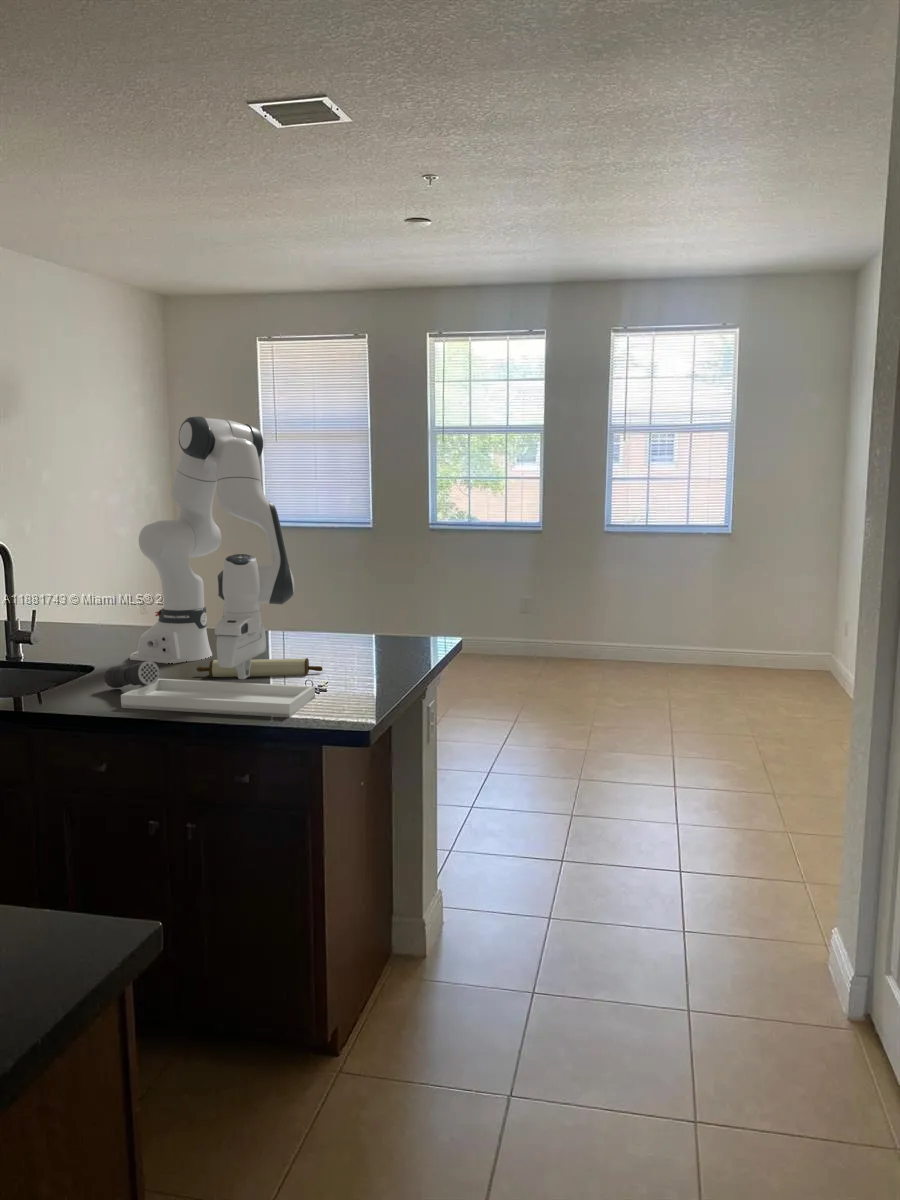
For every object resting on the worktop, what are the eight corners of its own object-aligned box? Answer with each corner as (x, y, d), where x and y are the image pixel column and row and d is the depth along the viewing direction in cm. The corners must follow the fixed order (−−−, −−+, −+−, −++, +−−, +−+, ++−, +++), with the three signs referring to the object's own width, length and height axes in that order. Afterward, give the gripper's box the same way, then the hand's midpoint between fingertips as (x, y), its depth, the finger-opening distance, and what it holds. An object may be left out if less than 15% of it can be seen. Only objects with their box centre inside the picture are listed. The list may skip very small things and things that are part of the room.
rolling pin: (194, 681, 222) (193, 662, 222) (199, 676, 228) (198, 657, 227) (321, 679, 224) (321, 660, 224) (323, 674, 230) (323, 655, 229)
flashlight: (97, 678, 210) (111, 661, 213) (113, 693, 212) (126, 676, 216) (135, 673, 200) (148, 656, 204) (150, 689, 203) (163, 672, 207)
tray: (121, 707, 196) (120, 694, 196) (158, 690, 212) (157, 678, 211) (289, 717, 188) (289, 704, 188) (315, 698, 204) (314, 686, 204)
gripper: (248, 614, 222) (249, 667, 224) (210, 628, 202) (212, 687, 204) (271, 615, 221) (272, 669, 223) (236, 630, 201) (238, 688, 203)
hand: (243, 677), depth 213 cm, fingers closed
